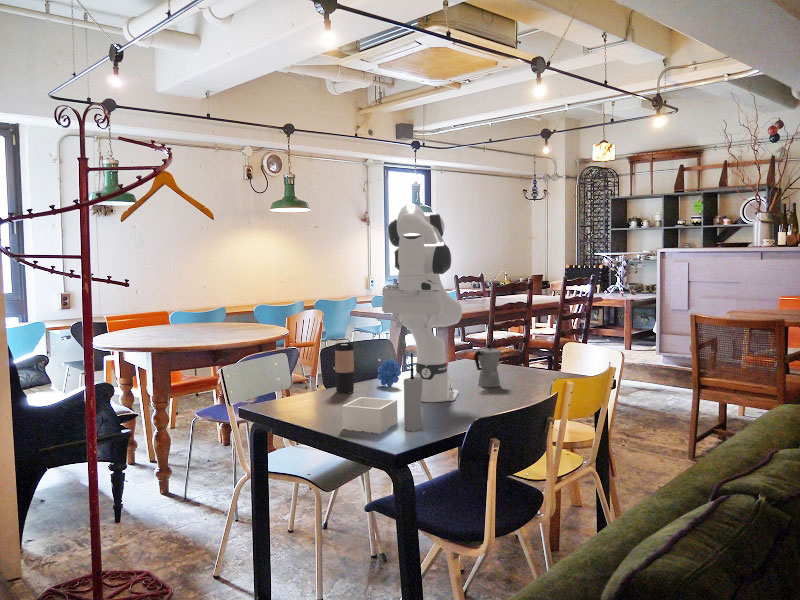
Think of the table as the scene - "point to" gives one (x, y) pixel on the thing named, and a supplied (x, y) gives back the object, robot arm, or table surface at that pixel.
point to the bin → (369, 414)
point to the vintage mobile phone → (412, 402)
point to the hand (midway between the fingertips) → (412, 327)
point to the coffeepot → (488, 366)
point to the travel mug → (344, 367)
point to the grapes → (389, 372)
